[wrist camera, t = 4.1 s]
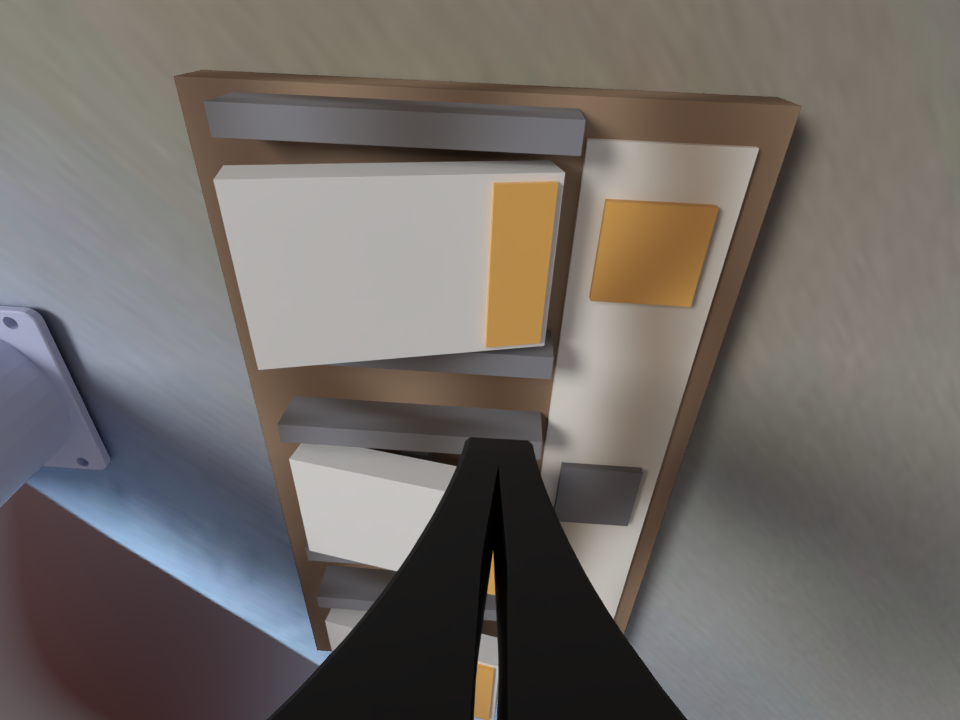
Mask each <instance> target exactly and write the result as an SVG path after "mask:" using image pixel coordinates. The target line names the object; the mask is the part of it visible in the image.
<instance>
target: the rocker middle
mask: <svg viewBox="0 0 960 720" xmlns="http://www.w3.org/2000/svg"><path fill="white" fill-rule="evenodd" d="M289 461H290V465H291V470H292V474H293V479H294V483H295V488H296V492H297V497H298V501H299V506H300V510H301V515H302V519H303V524H304V528H305V533H306V537H307V542H308V546H309V551H314V552H318V553H322V554H326V555H330V556H334V557H339V558H343V559H347V560H351V561H355V562H360V563H364V564H368V565H372V566H376V567H381V568H385V569H389V570H393V571H398V569H399V568H400V567H401V565H402V564H403V562H404V561H405V559H406V558H407V556H408V555H409V553H410V552H411V550H412V549H413V547H414V545H415V544H416V542H417V540H418V539H419V537H420V535H421V534H422V532H423V530H424V529H425V527H426V526H427V524H428V522H429V521H430V519H431V517H432V515H433V514H434V512H435V510H436V508H437V506H438V504H439V502H440V500H441V498H442V496H443V495H444V493H445V491H446V489H447V487H448V485H449V483H450V480H451V478H452V476H453V474H454V472H455V469H456V467H457V466H452V465H447V464H442V463H437V462H432V461H427V460H422V459H417V458H412V457H407V456H402V455H397V454H392V453H387V452H382V451H377V450H372V449H367V448H361V447H346V446H332V445H317V444H302V443H301V444H300V445H299V447H298V448H297V449H296V451H295V452H294V453H293V454H292V456H291V457H290V458H289ZM487 594H491V595H495V579H494V558H493V555H492V563H491V570H490V577H489V584H488V591H487Z"/></svg>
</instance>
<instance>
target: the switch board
mask: <svg viewBox="0 0 960 720" xmlns="http://www.w3.org/2000/svg"><path fill="white" fill-rule="evenodd" d="M174 80H175V84H176V88H177V92H178V96H179V100H180V104H181V108H182V112H183V116H184V120H185V124H186V128H187V132H188V136H189V140H190V144H191V148H192V152H193V156H194V160H195V164H196V168H197V172H198V176H199V180H200V184H201V188H202V192H203V196H204V200H205V204H206V208H207V212H208V216H209V220H210V224H211V228H212V232H213V236H214V240H215V244H216V248H217V252H218V256H219V260H220V264H221V268H222V272H223V276H224V280H225V284H226V288H227V292H228V296H229V300H230V304H231V308H232V312H233V316H234V320H235V324H236V328H237V332H238V336H239V340H240V344H241V348H242V352H243V356H244V360H245V364H246V367H247V371H248V375H249V379H250V383H251V387H252V391H253V395H254V399H255V403H256V407H257V411H258V415H259V419H260V423H261V427H262V431H263V435H264V439H265V443H266V447H267V451H268V455H269V459H270V463H271V467H272V471H273V475H274V479H275V483H276V487H277V491H278V495H279V499H280V503H281V507H282V511H283V515H284V519H285V523H286V527H287V531H288V535H289V539H290V543H291V547H292V551H293V555H294V559H295V563H296V567H297V571H298V575H299V579H300V583H301V587H302V591H303V595H304V599H305V603H306V607H307V611H308V615H309V619H310V623H311V627H312V631H313V635H314V639H315V643H316V647H317V650H322V651H332V650H331V645H330V641H329V636H328V632H327V627H326V623H325V620H326V618H327V616H328V614H329V612H330V610H331V608H336V609H349V610H362V611H368V609H369V608H370V607H371V606H372V604H373V603H374V602H375V601H376V599H377V598H378V597H379V595H380V594H381V593H382V592H383V590H384V589H385V588H386V586H387V585H388V583H389V582H390V581H391V579H392V578H393V576H394V575H395V574H396V572H397V571H393V570H389V569H385V568H381V567H376V566H372V565H368V564H364V563H360V562H355V561H351V560H347V559H343V558H339V557H334V556H330V555H326V554H322V553H318V552H314V551H309V546H308V542H307V537H306V533H305V528H304V524H303V519H302V515H301V510H300V506H299V501H298V497H297V492H296V488H295V483H294V479H293V474H292V470H291V465H290V461H289V458H290V457H291V456H292V454H293V453H294V452H295V451H296V449H297V448H298V447H299V445H300V444H301V443H302V444H317V445H332V446H346V447H361V448H367V449H372V450H377V451H382V452H387V453H392V454H397V455H402V456H407V457H412V458H417V459H422V460H427V461H432V462H437V463H442V464H447V465H452V466H457V464H458V462H459V459H460V456H461V453H462V451H463V447H464V443H465V441H466V440H467V439H468V438H470V437H478V438H495V439H513V440H528V441H529V442H530V443H531V444H533V448H534V453H535V457H536V461H537V464H538V468H539V471H540V474H541V477H542V480H543V482H544V485H545V488H546V491H547V493H548V496H549V498H550V501H551V503H552V505H553V508H554V510H555V512H556V515H557V517H558V519H559V521H560V524H561V526H562V528H563V530H564V532H565V534H566V536H567V539H568V541H569V543H570V545H571V547H572V548H573V550H574V552H575V554H576V556H577V558H578V560H579V562H580V564H581V566H582V568H583V569H584V571H585V573H586V575H587V577H588V578H589V580H590V582H591V584H592V585H593V587H594V589H595V590H596V592H597V594H598V595H599V597H600V599H601V600H602V602H603V604H604V605H605V607H606V608H607V610H608V612H609V613H610V615H611V616H612V618H613V619H614V621H615V622H616V624H617V625H618V627H619V628H620V630H621V632H622V633H623V635H624V632H625V629H626V626H627V623H628V620H629V617H630V614H631V611H632V608H633V605H634V602H635V599H636V596H637V593H638V590H639V587H640V584H641V582H642V579H643V576H644V573H645V570H646V567H647V564H648V561H649V558H650V555H651V552H652V549H653V546H654V543H655V540H656V537H657V534H658V531H659V528H660V525H661V522H662V519H663V516H664V513H665V510H666V507H667V504H668V501H669V498H670V495H671V492H672V490H673V487H674V484H675V481H676V478H677V475H678V472H679V469H680V466H681V463H682V460H683V457H684V454H685V451H686V448H687V445H688V442H689V439H690V436H691V433H692V430H693V427H694V424H695V421H696V418H697V415H698V412H699V409H700V406H701V403H702V401H703V398H704V395H705V392H706V389H707V386H708V383H709V380H710V377H711V374H712V371H713V368H714V365H715V362H716V359H717V356H718V353H719V350H720V347H721V344H722V341H723V338H724V335H725V332H726V329H727V326H728V323H729V320H730V317H731V314H732V311H733V309H734V306H735V303H736V300H737V297H738V294H739V291H740V288H741V285H742V282H743V279H744V276H745V273H746V270H747V267H748V264H749V261H750V258H751V255H752V252H753V249H754V246H755V243H756V240H757V237H758V234H759V231H760V228H761V225H762V222H763V219H764V217H765V214H766V211H767V208H768V205H769V202H770V199H771V196H772V193H773V190H774V187H775V184H776V181H777V178H778V175H779V172H780V169H781V166H782V163H783V160H784V157H785V154H786V151H787V148H788V145H789V142H790V139H791V136H792V133H793V130H794V128H795V125H796V122H797V119H798V116H799V113H800V110H801V107H802V106H800V105H797V104H794V103H792V102H789V101H786V100H784V99H781V98H778V97H761V96H740V95H719V94H698V93H677V92H656V91H635V90H613V89H592V88H571V87H550V86H529V85H508V84H487V83H466V82H445V81H423V80H402V79H381V78H360V77H339V76H318V75H297V74H276V73H255V72H234V71H212V70H200V71H195V72H190V73H186V74H181V75H177V76H174ZM528 160H550V161H552V162H553V163H554V164H555V165H557V166H558V167H559V168H560V169H561V170H563V171H564V172H565V178H564V186H563V195H562V203H561V211H560V219H559V228H558V236H557V244H556V253H555V261H554V269H553V277H552V286H551V294H550V302H549V311H548V319H547V327H546V335H545V344H544V346H535V347H524V348H512V349H500V350H488V351H476V352H465V353H453V354H441V355H429V356H417V357H406V358H394V359H382V360H370V361H358V362H347V363H335V364H323V365H311V366H299V367H288V368H276V369H264V370H258V367H257V363H256V358H255V354H254V350H253V346H252V341H251V337H250V333H249V329H248V324H247V320H246V316H245V312H244V308H243V303H242V299H241V295H240V291H239V286H238V282H237V278H236V274H235V269H234V265H233V261H232V257H231V253H230V248H229V244H228V240H227V236H226V231H225V227H224V223H223V219H222V214H221V210H220V206H219V202H218V198H217V193H216V189H215V185H214V181H213V179H214V178H215V177H216V175H217V174H218V172H219V171H220V169H221V168H222V166H223V165H276V164H339V163H402V162H465V161H528ZM482 634H485V635H489V636H493V637H497V621H496V600H495V595H491V594H487V598H486V605H485V613H484V620H483V627H482Z"/></svg>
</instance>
